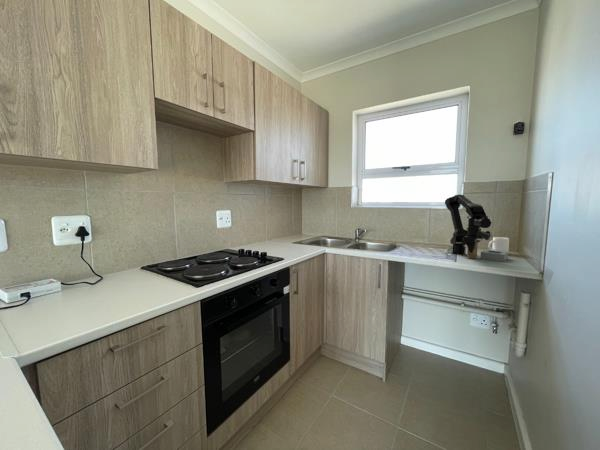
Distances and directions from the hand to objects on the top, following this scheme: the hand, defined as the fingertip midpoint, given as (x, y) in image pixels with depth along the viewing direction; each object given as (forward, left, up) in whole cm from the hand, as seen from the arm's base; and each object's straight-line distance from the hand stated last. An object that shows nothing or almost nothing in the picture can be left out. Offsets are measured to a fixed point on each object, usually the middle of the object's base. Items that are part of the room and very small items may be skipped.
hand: (472, 252), depth 148 cm
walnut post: (0, 0, -4) cm, 4 cm away
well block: (+9, +9, -4) cm, 13 cm away
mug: (+7, +28, -4) cm, 29 cm away
